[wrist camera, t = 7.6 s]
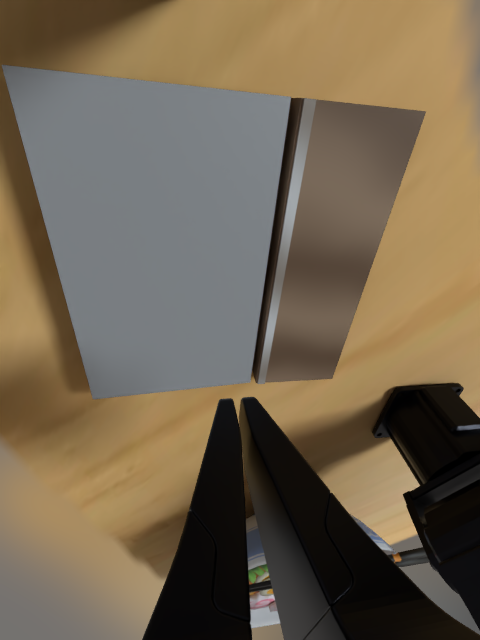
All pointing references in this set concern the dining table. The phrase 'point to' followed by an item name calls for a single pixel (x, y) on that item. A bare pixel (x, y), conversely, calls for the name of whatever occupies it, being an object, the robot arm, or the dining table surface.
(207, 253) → the grey tile
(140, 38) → the dining table surface
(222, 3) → the dining table surface
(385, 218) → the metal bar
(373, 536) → the ramen bowl
